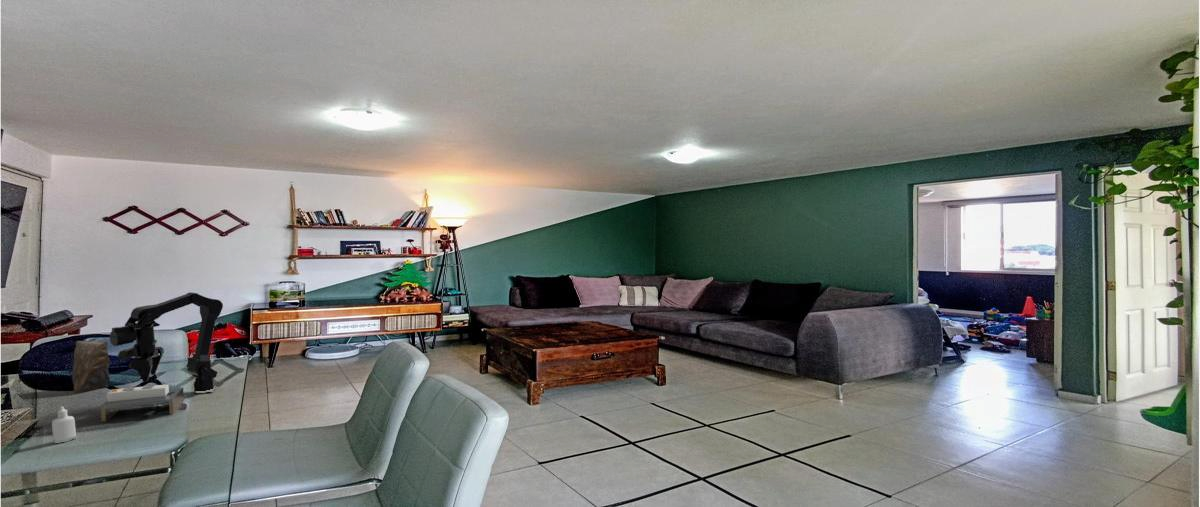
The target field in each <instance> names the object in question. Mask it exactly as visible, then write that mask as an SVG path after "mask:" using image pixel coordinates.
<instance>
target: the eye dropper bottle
mask: <svg viewBox="0 0 1200 507" xmlns="http://www.w3.org/2000/svg"><path fill="white" fill-rule="evenodd" d="M51 428H52V430H51V431H52V439H54V440H64V439H68V438H71V437H75V436H76V437H77V429H76V420H75V417H74V416H72V415H68V409H67V408H66V409H65V407H64V406H60V407H59V410H58V411H57V417H56V418H55V419H53V420H52V421H51Z"/></svg>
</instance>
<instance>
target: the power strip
mask: <svg viewBox="0 0 1200 507" xmlns="http://www.w3.org/2000/svg"><path fill="white" fill-rule="evenodd" d="M169 389H170V388H169V384H159V385H156V384H155V385H148V386H136V387H135V386H134V387H126V388H114V389H110V390H109V391H108V392H107V393H106V399H107V400H106V401H107V402H110V401H120V400H130V399H140V398H150V397H160V396H168V395H167V394H168V393H169ZM159 404H160V403H155V404H154V405H159ZM148 405H149V406H151V405H152V404H148ZM127 407H128V406H126V407H125V408H127ZM117 408H120V409H121V408H122V409H123V407H117Z"/></svg>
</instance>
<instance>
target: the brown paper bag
mask: <svg viewBox="0 0 1200 507" xmlns="http://www.w3.org/2000/svg"><path fill="white" fill-rule="evenodd" d="M110 363H111V359H110V357H109V351H108V342H106V341H103V340H100V339H99V340H94V341H93V340H91V341H90V340H89V341H84V340H76V341H75V348H74V353H73V366H72V373H71V381H72V385H73V393H74V395H80V394H84V393H87V392H88V393H89V392H92V391H98V390H102V389H105V388H109V387H110V385H108V383H109V381H111V377H110V370H109V366H110Z"/></svg>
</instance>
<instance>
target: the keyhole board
mask: <svg viewBox="0 0 1200 507" xmlns="http://www.w3.org/2000/svg"><path fill="white" fill-rule="evenodd" d="M184 396H185V395H184V387H183V386H182V387H173V388H172V387H171V388H169V393H168V394H167V395H166V396H160V397H150V398H140V399H130V400H120V401H110V402H107V400H106V401H105V402H104V403H103V404H101V405H100V416H101V417H100V418H101V423H106V422H107V421H109V420H110V419H111V418H112V417H113V416H114V415H115V414H116V413H117V412H118V411H119V410H120V409H121V408H117V407H122V408H127V407H132V406H133V407H134V406H143V405H149V404H151V405H156V404H155V403H159V404H163V403H168V405H169V406H168V409H169V415H174V414H176V412H178V410H179V409H180V408H181V406H182V405H183V404H184V403H183V401H184V402H185V397H184ZM182 403H183V404H182ZM181 404H182V405H181ZM126 406H127V407H126Z"/></svg>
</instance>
